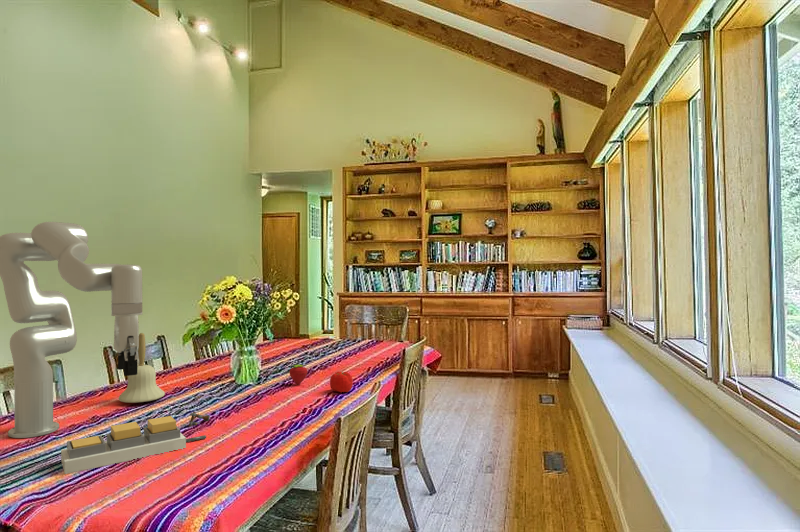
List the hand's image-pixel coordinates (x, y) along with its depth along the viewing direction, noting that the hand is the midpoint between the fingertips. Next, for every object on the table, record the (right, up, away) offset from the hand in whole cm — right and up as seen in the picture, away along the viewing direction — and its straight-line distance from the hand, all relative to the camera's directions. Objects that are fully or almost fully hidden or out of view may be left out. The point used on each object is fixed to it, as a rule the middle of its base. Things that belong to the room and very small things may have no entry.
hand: (127, 372), depth 142 cm
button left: (-5, -18, -10) cm, 21 cm away
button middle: (+2, -16, -4) cm, 16 cm away
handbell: (-20, -21, +48) cm, 56 cm away
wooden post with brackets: (+11, -21, +22) cm, 33 cm away
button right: (+9, -16, +1) cm, 18 cm away
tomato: (+52, -21, +63) cm, 84 cm away
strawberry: (+32, -21, +73) cm, 83 cm away
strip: (+4, -21, -2) cm, 22 cm away
